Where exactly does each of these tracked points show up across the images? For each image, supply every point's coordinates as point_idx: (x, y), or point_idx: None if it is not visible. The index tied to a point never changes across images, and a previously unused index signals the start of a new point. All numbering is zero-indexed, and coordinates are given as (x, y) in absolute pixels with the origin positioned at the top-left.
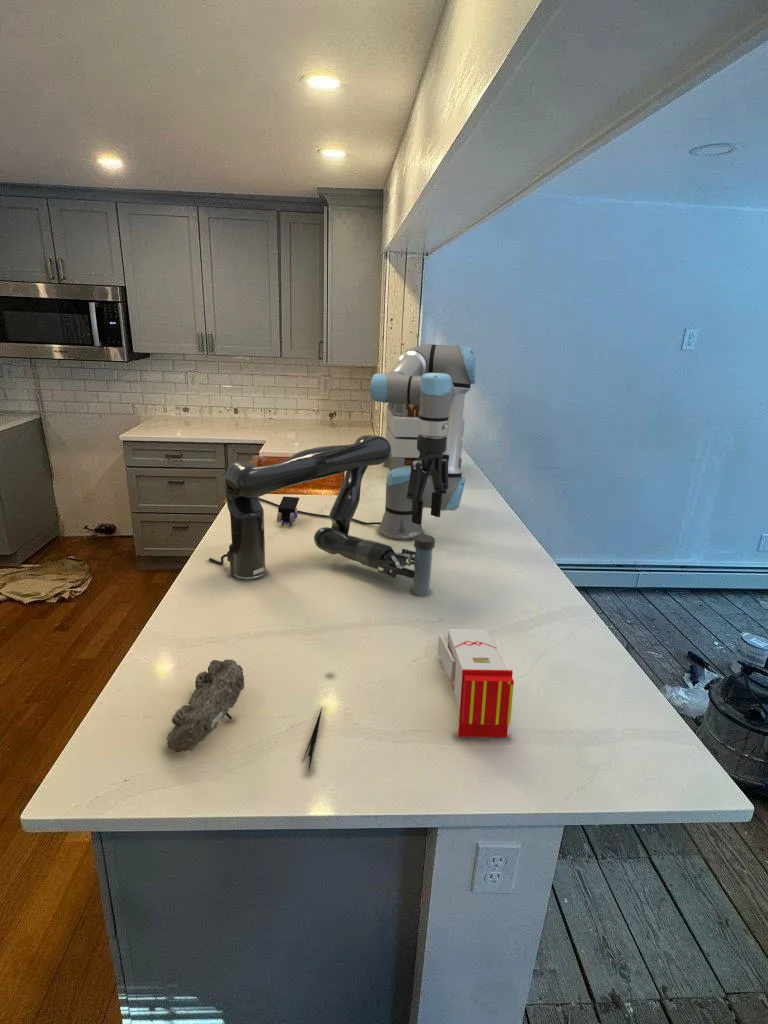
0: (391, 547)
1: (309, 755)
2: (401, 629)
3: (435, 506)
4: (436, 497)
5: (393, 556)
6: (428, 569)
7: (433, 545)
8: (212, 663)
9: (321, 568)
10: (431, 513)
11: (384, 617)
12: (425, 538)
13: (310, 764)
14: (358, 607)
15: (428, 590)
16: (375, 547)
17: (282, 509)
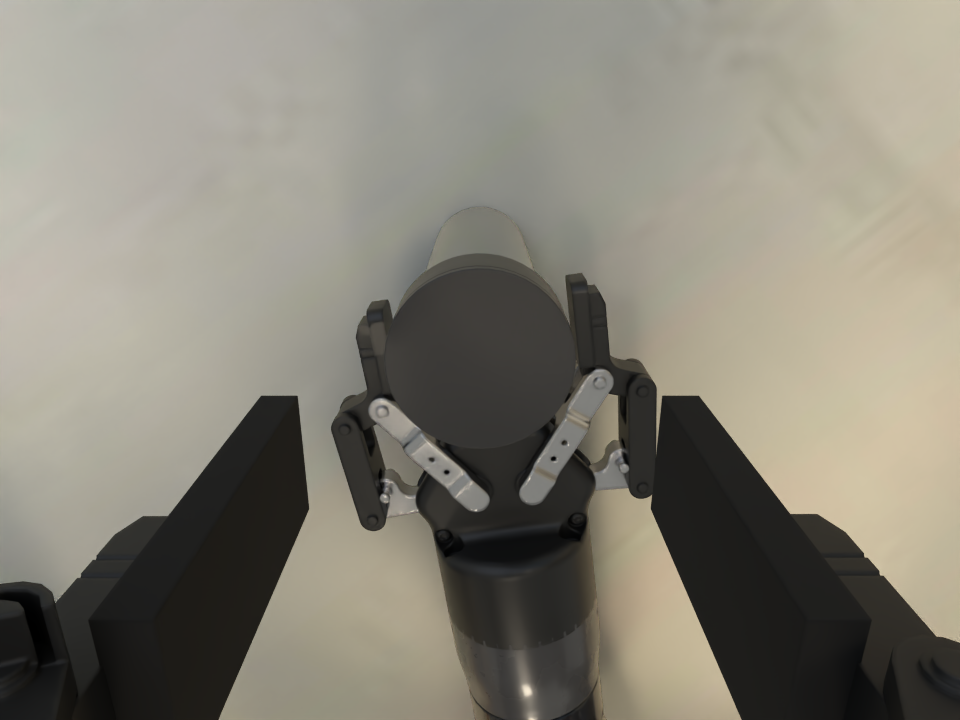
0: (464, 564)
1: None
2: (883, 67)
3: (262, 529)
4: (205, 633)
5: (531, 489)
6: (490, 233)
7: (464, 260)
8: None
9: (626, 699)
10: (302, 510)
11: (830, 213)
12: (477, 357)
13: None
14: (822, 364)
15: (473, 210)
16: (560, 615)
17: None
